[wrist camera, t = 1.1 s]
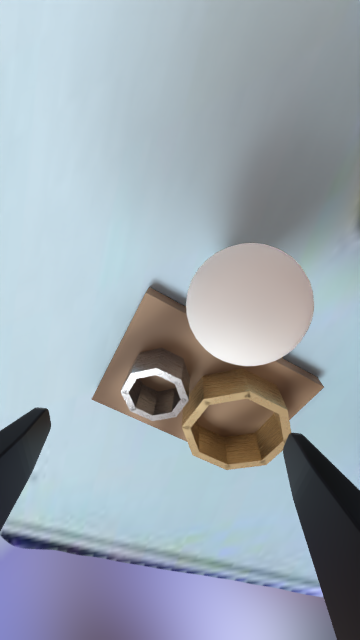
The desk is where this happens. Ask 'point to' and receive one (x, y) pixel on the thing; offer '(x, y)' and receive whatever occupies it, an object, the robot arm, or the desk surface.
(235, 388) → the brass collar
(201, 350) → the walnut board
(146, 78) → the desk surface
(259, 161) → the desk surface
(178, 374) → the grey small collar
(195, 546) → the desk surface
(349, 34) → the desk surface
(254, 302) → the lightbulb
